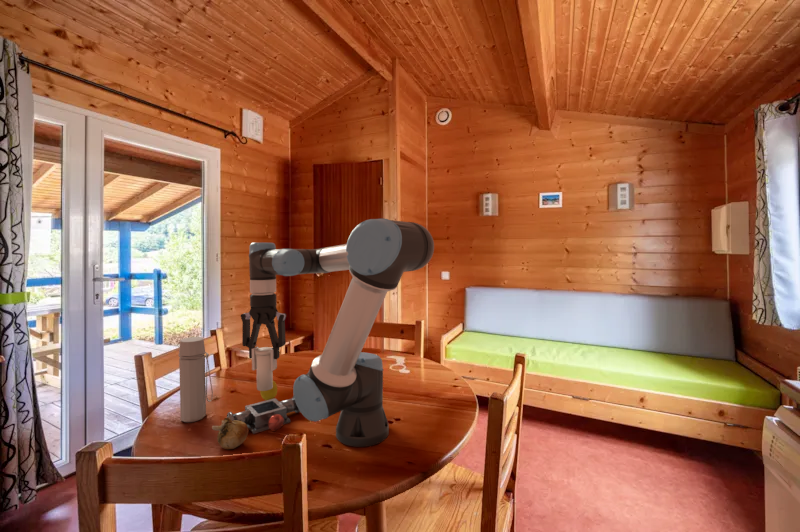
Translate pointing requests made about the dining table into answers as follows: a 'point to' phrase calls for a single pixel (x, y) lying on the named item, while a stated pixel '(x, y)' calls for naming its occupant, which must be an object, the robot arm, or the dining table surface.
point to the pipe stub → (264, 369)
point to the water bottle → (193, 379)
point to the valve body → (266, 414)
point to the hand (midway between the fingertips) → (264, 368)
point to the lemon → (269, 392)
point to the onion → (231, 433)
